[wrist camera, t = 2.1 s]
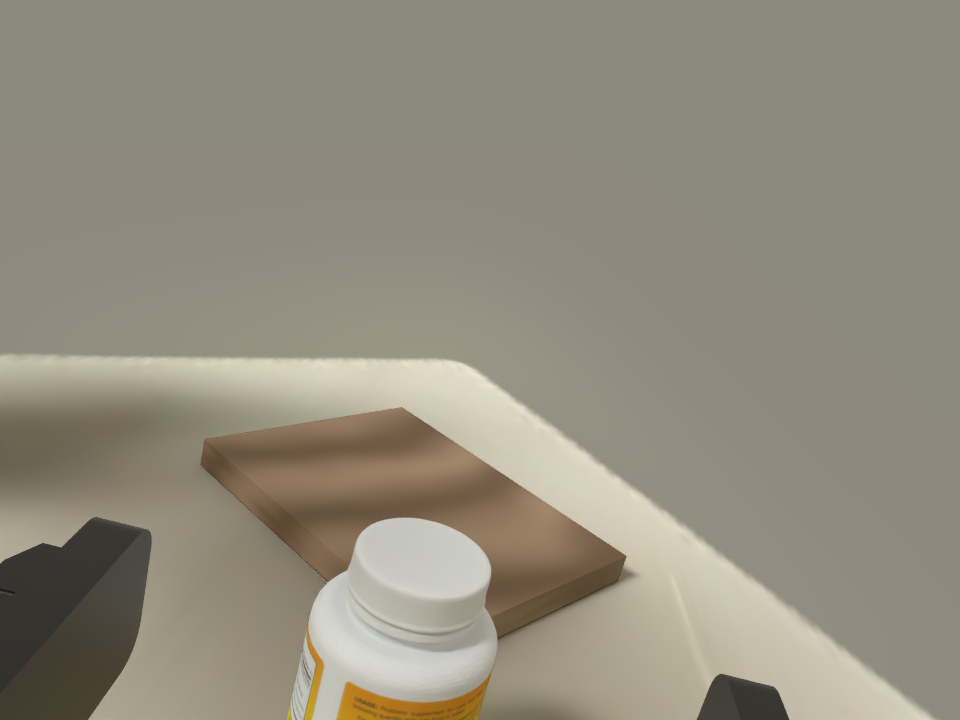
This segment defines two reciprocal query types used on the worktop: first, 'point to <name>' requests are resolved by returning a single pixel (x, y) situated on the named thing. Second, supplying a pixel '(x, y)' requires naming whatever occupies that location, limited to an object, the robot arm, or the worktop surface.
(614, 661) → the worktop surface
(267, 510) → the walnut board
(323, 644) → the supplement bottle
